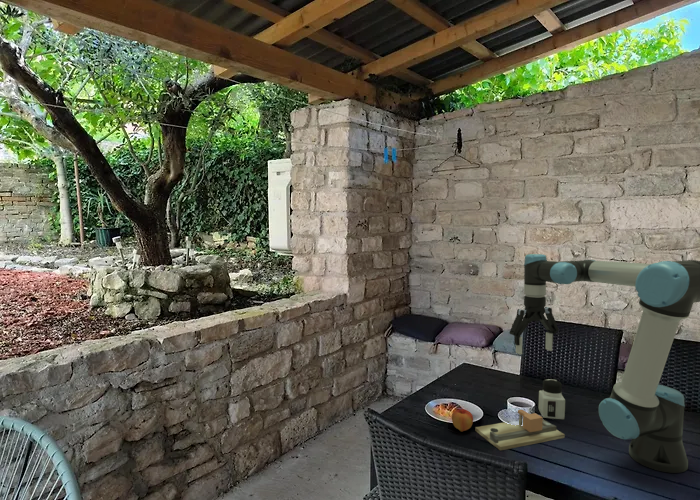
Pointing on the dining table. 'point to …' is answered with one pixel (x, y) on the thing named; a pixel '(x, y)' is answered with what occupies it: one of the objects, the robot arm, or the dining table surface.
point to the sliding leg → (530, 421)
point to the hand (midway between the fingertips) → (534, 351)
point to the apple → (462, 419)
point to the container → (552, 400)
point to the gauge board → (517, 435)
